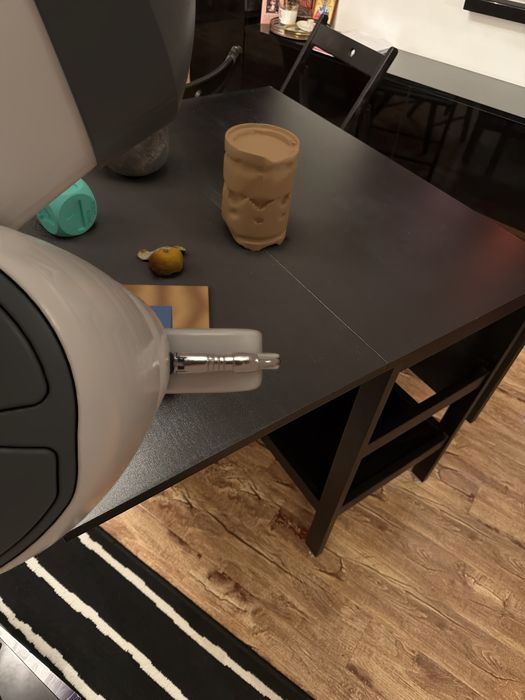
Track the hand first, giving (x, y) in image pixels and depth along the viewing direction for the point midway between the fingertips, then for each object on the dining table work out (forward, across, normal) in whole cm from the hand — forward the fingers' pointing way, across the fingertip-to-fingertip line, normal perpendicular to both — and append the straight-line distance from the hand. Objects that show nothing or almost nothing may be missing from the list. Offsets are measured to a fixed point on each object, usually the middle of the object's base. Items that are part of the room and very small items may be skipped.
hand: (120, 352), depth 37 cm
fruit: (+47, -1, -14) cm, 49 cm away
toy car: (+28, 0, +5) cm, 29 cm away
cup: (+71, +8, -38) cm, 80 cm away
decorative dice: (+54, +17, -21) cm, 61 cm away
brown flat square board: (+37, 0, -4) cm, 37 cm away
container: (+54, -17, -21) cm, 61 cm away
